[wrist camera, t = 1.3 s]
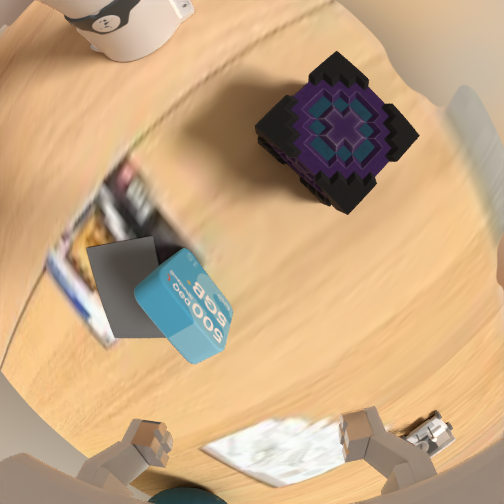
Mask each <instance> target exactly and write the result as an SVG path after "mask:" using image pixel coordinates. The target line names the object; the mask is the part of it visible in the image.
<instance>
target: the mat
mask: <svg viewBox="0 0 504 504" xmlns="http://www.w3.org/2000/svg"><path fill="white" fill-rule="evenodd" d="M86 249H87V253H88V257H89V260H90V264H91V268H92V271H93V275H94V278H95V282H96V285H97V288H98V291H99V294H100V298H101V301H102V304H103V306H104V309H105V312H106V315H107V318H108V321H109V323H110V326H111V329H112V331H113V334H114V336H115V338H166V337H165V336H164V334H163V333H162V332H161V331H160V330H159V328H158V327H157V326H156V325H155V324H154V323H153V321H152V320H151V319H150V318H149V316H148V315H147V314H146V313H145V312H144V310H143V309H142V308H141V306H140V305H139V304H138V303H137V301H136V299H135V296H134V289H135V287H136V286H137V285H138V284H139V283H140V282H141V281H143V280H144V279H145V278H146V277H147V276H148V275H149V274H150V273H152V272H153V271H154V270H155V269H156V268H157V267H158V266H160V264H159V260H158V256H157V251H156V247H155V242H154V238H153V236H149V237H143V238H137V239H132V240H126V241H121V242H115V243H110V244H105V245H99V246H94V247H89V248H86Z"/></svg>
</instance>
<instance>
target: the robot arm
mask: <svg viewBox="0 0 504 504" xmlns="http://www.w3.org/2000/svg"><path fill="white" fill-rule="evenodd" d="M37 1H39V2H41V3H43V4H46V5H48V6H50V7H52V8H53V9H55V10H57V11H59V12H61V13H62V14H64V17H65V19H66V20H67V21H69V23H71V24H72V25H73V26H76V27H77V28H76V29H77V31H78V32H79V33H80V34H81V35H82V36H83V37H84V38H86V39H87V40H88V41H89V42H90V43H91V44H90V48H91V49H92V50H93V51H95V52H102V53H104V54H105V55H106V56H107V57H108V58H110V59H112V60H114V61H118V62H128V61H133V60H137V59H140V58H142V57H144V56H147V55H149V54H150V53H152V52H154V51H155V50H157V49H158V48H159V47H161V46H162V45H163V44H164V43H165V42H167V41H168V40H169V38H170V37H171V36H172V35H173V34H174V32H175V31H176V29H177V28H178V26H179V25H180V24H181V23H182V22H183V21H185V20H186V19H188V18H189V17H190V16H191V15H192V14H193V13H194V12H195V9H194V7H193V4H192V2H191V0H37ZM184 6H186V7H184ZM166 428H167V427H166V425H165V423H162V422H154V421H147V420H141V419H133V420H132V422H131V423H130V425H129V427H128V429H127V431H126V433H125V435H124V437H123V439H122V441H121V442H119V441H118V442H117V443H115V444H114V445H112V446H110V447H109V448H107V449H105V450H104V451H102V452H100V453H98V454H97V455H95V456H93V457H92V458H90V459H88V460H86V461H85V463H84V464H83V466H82V468H81V470H80V471H79V473H78V475H77V477H76V478H74V477H72V476H70V475H67V474H65V473H63V472H61V471H59V470H57V469H55V468H53V467H51V466H49V465H47V464H45V463H43V462H41V461H40V460H38V459H36V458H34V457H33V456H31V455H29V454H27V453H20V454H17V455H14V456H11V457H9V458H6V459H4V460H3V461H1V462H0V504H154V503H149V502H145V501H141V500H137V499H133V498H132V496H133V494H132V492H131V491H130V490H129V489H128V488H126V486H127V485H128V484H129V483H131V482H132V481H133V480H134V479H135V478H136V477H138V476H139V475H140V474H141V473H142V472H143V471H145V470H146V469H147V468H148V467H149V465H151V466H158V467H165V468H166V465H167V462H168V459H169V456H168V454H167V453H168V452H170V451H171V450H172V446H173V439H172V435H171V434H170V432H168V431H167V430H166ZM339 439H340V444H342V445H343V449H342V452H343V457H344V461H345V462H350V461H355V460H360V459H364V460H365V461H366V462H368V463H369V464H370V465H371V466H372V467H374V468H375V469H376V470H377V471H379V472H380V473H381V474H382V475H383V476H385V477H386V478H387V479H388V480H387V482H386V483H385V485H384V487H383V488H382V490H381V494H382V495H381V496H378V497H374V498H371V499H367V500H363V501H359V502H355V503H350V504H504V436H503V437H501V438H500V439H498V440H497V441H495V442H494V443H492V444H491V445H489V446H488V447H486V448H485V449H483V450H482V451H480V452H478V453H477V454H475V455H473V456H472V457H470V458H468V459H466V460H464V461H463V462H461V463H459V464H457V465H455V466H453V467H451V468H449V469H447V470H445V471H443V472H441V473H439V474H437V472H436V470H435V468H434V466H433V463H432V461H431V459H430V457H429V455H428V453H427V452H425V451H423V450H421V449H419V448H417V447H416V446H414V445H412V444H410V443H408V442H407V441H405V440H403V439H401V438H400V437H398V436H396V435H394V434H393V433H391V432H386V431H385V428H384V426H383V423H382V421H381V418H380V416H379V413H378V411H377V409H376V407H375V406H372V407H368V408H364V409H359V410H355V411H350V412H346V413H341V414H340V424H339Z"/></svg>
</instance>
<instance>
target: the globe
mask: <svg viewBox="0 0 504 504" xmlns="http://www.w3.org/2000/svg"><path fill="white" fill-rule="evenodd" d="M148 502H149V503H154V504H227V503H226V502H225V501H224V500H223V499H221V498H220V497H218V496H216V495H215V494H213V493H210V492H208V491H205V490H202V489H198V488H191V487H177V488H171V489H167V490H164V491H162V492H160V493H158V494H156V495H154V496H153V497H152V498H151V499H150V500H149V501H148Z"/></svg>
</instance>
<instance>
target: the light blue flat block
mask: <svg viewBox="0 0 504 504" xmlns="http://www.w3.org/2000/svg"><path fill="white" fill-rule="evenodd" d="M134 296H135V299H136V301H137V303H138V304H139V305H140V306H141V308H142V309H143V310H144V312H145V313H146V314H147V315H148V316H149V318H150V319H151V320H152V321H153V323H154V324H155V325H156V326H157V327H158V328H159V330H160V331H161V332H162V333H163V334H164V336H165V337H166V338H167V339H168V340H169V341H170V342H171V344H172V345H173V346H174V347H175V348H176V349H177V350H178V351H179V352H180V354H181V355H182V356H183V357H184V358H185V359H186V360H187V361H188V362H190V363H192V364H197V363H199V362H201V361H203V360H205V359H207V358H209V357H211V356H213V355H215V354H217V353H219V352H221V351H223V350H224V349H225V345H226V341H227V336H228V332H229V328H230V323H231V319H232V315H233V310H232V307H231V305H230V303H229V302H228V301H227V299H226V298H225V297H224V295H223V294H222V293H221V292H220V290H219V289H218V288H217V286H216V285H215V284H214V282H213V281H212V280H211V278H210V277H209V276H208V274H207V273H206V272H205V270H204V269H203V268H202V266H201V265H200V264H199V262H198V261H197V260H196V258H195V257H194V255H193V254H192V253H191V252H190V251H189V250H188V249H186V248H182V249H181V250H179V251H178V252H177V253H175V254H174V255H173V256H171V257H170V258H169V259H167V260H166V261H165V262H163V263H162V264H161V265H160V266H158V267H157V268H156V269H155V270H154V271H153V272H152V273H150V274H149V275H148V276H147V277H146V278H145V279H144V280H143V281H141V282H140V283H139V284H138V285H137V286H136V287H135V289H134Z"/></svg>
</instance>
